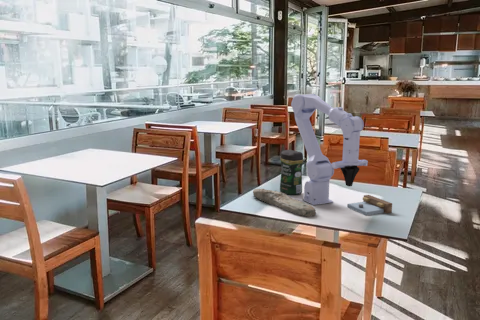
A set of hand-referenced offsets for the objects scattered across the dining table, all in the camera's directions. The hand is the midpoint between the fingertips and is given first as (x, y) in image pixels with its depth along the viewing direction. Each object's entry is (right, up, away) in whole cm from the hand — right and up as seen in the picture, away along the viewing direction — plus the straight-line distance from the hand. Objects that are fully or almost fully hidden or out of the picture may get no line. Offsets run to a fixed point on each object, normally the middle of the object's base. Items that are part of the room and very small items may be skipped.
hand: (348, 185), depth 162 cm
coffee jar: (-19, -5, +26) cm, 32 cm away
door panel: (+7, -10, +2) cm, 12 cm away
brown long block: (+12, -9, +4) cm, 15 cm away
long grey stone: (-24, -9, +9) cm, 27 cm away
